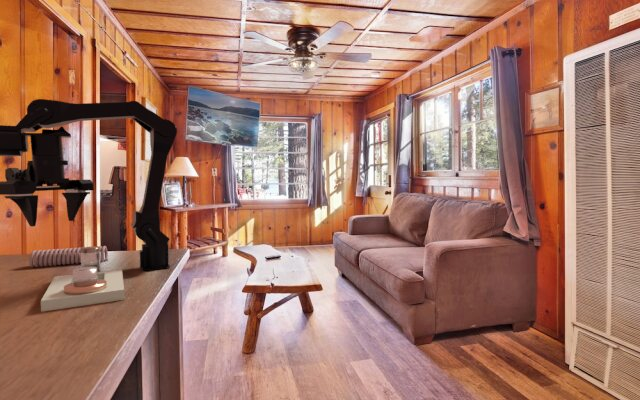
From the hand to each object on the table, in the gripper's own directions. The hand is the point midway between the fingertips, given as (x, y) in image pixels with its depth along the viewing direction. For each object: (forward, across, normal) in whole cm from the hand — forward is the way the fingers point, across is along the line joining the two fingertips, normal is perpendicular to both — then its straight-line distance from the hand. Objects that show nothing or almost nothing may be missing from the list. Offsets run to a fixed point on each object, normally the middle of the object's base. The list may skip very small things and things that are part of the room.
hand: (52, 223), depth 82 cm
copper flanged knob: (+11, +10, +19) cm, 24 cm away
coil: (+14, -13, -11) cm, 22 cm away
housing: (+13, +6, +16) cm, 21 cm away
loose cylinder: (+14, -4, +6) cm, 15 cm away
